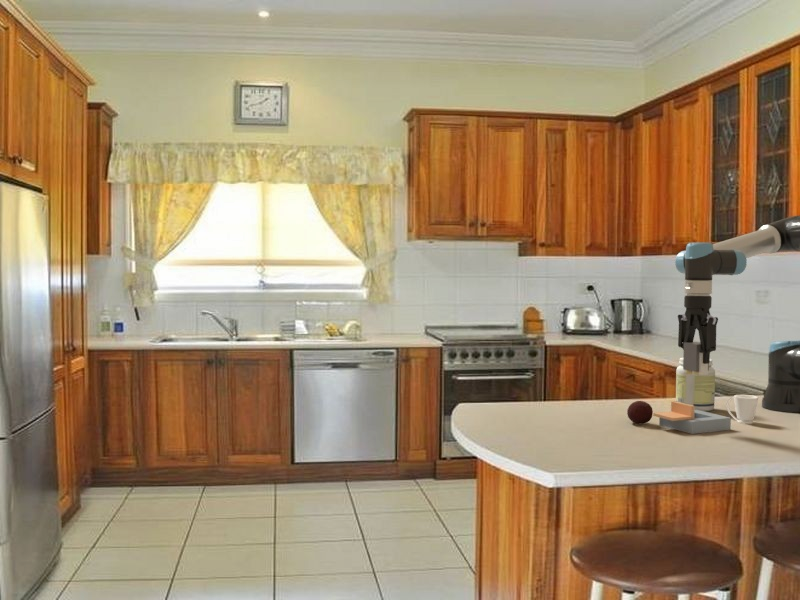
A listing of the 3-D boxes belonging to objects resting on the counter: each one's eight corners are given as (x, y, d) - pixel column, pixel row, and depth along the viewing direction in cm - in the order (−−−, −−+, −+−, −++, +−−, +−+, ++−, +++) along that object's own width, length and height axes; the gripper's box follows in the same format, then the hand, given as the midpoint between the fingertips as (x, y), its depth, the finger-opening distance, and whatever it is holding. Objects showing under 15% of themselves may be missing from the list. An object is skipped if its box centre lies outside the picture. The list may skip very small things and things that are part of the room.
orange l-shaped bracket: (674, 413, 230) (674, 401, 230) (694, 418, 223) (694, 405, 223) (653, 415, 227) (653, 403, 227) (673, 420, 220) (673, 407, 219)
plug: (695, 372, 231) (696, 342, 230) (708, 374, 226) (709, 343, 226) (683, 373, 229) (683, 342, 228) (695, 375, 224) (696, 344, 224)
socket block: (696, 421, 237) (697, 409, 237) (730, 429, 225) (730, 417, 225) (659, 424, 231) (659, 413, 231) (691, 433, 219) (692, 421, 219)
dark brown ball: (653, 422, 235) (654, 399, 234) (650, 427, 228) (651, 404, 227) (628, 420, 238) (629, 397, 237) (625, 425, 231) (625, 402, 230)
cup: (748, 425, 231) (748, 399, 231) (719, 419, 240) (720, 394, 240) (762, 423, 235) (763, 397, 234) (734, 417, 243) (735, 392, 243)
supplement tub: (717, 408, 259) (718, 358, 258) (710, 414, 249) (711, 362, 248) (679, 404, 266) (681, 355, 265) (671, 409, 255) (672, 359, 255)
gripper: (666, 293, 233) (664, 369, 234) (712, 296, 217) (709, 378, 218) (685, 293, 236) (683, 368, 237) (731, 296, 220) (729, 376, 221)
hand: (695, 373), depth 228 cm, fingers closed on plug, 5 cm apart
